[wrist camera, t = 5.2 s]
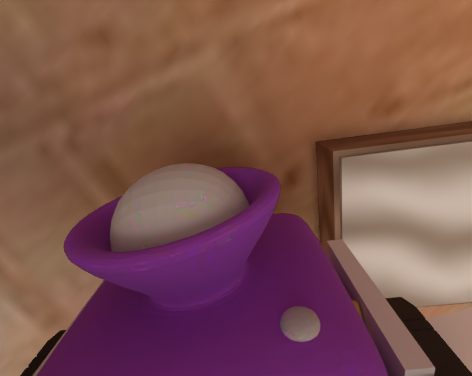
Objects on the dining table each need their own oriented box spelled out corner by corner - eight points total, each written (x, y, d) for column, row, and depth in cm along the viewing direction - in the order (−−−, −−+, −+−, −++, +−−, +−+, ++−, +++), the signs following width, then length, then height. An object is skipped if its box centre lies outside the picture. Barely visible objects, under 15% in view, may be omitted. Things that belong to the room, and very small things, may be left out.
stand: (316, 141, 25) (334, 152, 20) (492, 118, 24) (560, 123, 19) (321, 280, 30) (337, 317, 25) (468, 266, 29) (516, 302, 24)
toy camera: (270, 106, 12) (398, 140, 2) (351, 323, 16) (520, 660, 6) (70, 194, 13) (-343, 434, 4) (191, 373, 17) (135, 704, 8)
